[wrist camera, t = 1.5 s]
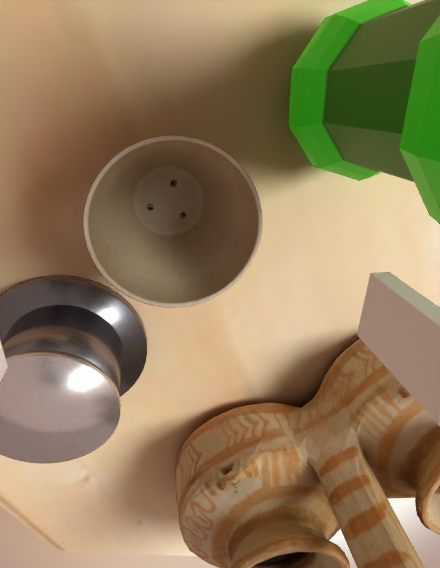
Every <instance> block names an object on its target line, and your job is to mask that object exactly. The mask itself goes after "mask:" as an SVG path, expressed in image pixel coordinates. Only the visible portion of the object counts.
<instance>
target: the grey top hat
mask: <svg viewBox="0 0 440 568" xmlns="http://www.w3.org/2000/svg"><path fill="white" fill-rule="evenodd" d="M0 341H1V345H2V348H3V351H4V355H5V358H6V362H7V365H8V368H7V370H6V372H5V374H4V376H3V378H2V379H1V381H0V454H1V455H3V456H6V457H9V458H11V459H15V460H19V461H24V462H30V463H58V462H64V461H69V460H73V459H76V458H79V457H82V456H84V455H86V454H89V453H91V452H92V451H94V450H96V449H97V448H99V447H100V446H101V445H103V444H104V443H105V442H106V441H107V440H108V439H109V438H110V436H111V435H112V434H113V432H114V431H115V429H116V427H117V424H118V421H119V417H120V407H121V404H120V396H122V395H123V394H124V393H125V392H127V391H128V390H129V389H130V388H131V387H132V386H133V385H134V384H135V382H136V381H137V379H138V378H139V376H140V375H141V373H142V371H143V368H144V365H145V362H146V356H147V337H146V331H145V328H144V325H143V322H142V320H141V318H140V316H139V315H138V313H137V312H136V310H135V309H134V308H133V306H132V305H131V304H130V303H129V302H128V301H127V300H126V299H125V298H123V297H122V296H121V295H120V294H118V293H117V292H115V291H114V290H112V289H111V288H109V287H107V286H105V285H102V284H100V283H98V282H95V281H92V280H89V279H85V278H80V277H74V276H66V275H53V276H45V277H39V278H35V279H30V280H28V281H25V282H22V283H20V284H18V285H16V286H14V287H12V288H10V289H9V290H7V291H6V292H4V293H3V294H2V295H1V296H0Z"/></svg>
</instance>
